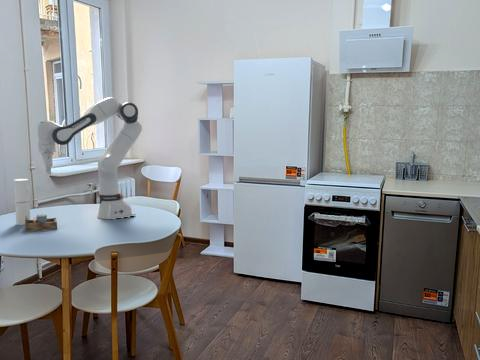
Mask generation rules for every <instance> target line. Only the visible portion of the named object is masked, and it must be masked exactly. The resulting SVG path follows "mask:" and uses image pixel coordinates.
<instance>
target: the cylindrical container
mask: <svg viewBox="0 0 480 360" xmlns="http://www.w3.org/2000/svg"><path fill="white" fill-rule="evenodd" d="M13 188H14V189H13V190H14V206H15V207H14V208H15V224H16V225H17V226H25V216H28V220H31V206H30V186H29V179H28V178H16V179H13Z"/></svg>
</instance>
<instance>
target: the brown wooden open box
mask: <svg viewBox="0 0 480 360" xmlns="http://www.w3.org/2000/svg"><path fill="white" fill-rule="evenodd" d="M24 226H25V232H26V233H31V232H41V231H43V232H44V231H52V230H58V221H57V217H47V222H44V223H37V218H36V223H34V222H33V219H30V220H28V216H25V225H24Z"/></svg>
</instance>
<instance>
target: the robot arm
mask: <svg viewBox="0 0 480 360" xmlns="http://www.w3.org/2000/svg"><path fill="white" fill-rule="evenodd" d="M114 116H117V117H118V118H119V119H120V120H122V121H124V123H123V126H122V128H120V130H119V131H118V132H117V134H116V135H115V137H114V138H113V140H112V141H111V143H110V144H109V146H108V147H107V149H106V151H105V152H103V153H101V154H100V155H99V156H98V159H97V171H98V173H97V174H98V182H99V184H98V186H99V187H98V189H99V194H98V204H99V206H98V213H97V218H98V219H104V220H110V219H113V220H117V219H116V218H121V219H125V218H124V217H128V218H130V217H129V216H134V215H133V214H135V215H136V212H134V211H133V210H132V207H131V205H130V204H129V203H128V202H127V201H125V200H124V197H125V196H124V195H123V194H121V193H120V192H119V177H118V168H119V167H120V165H121V164H122V162H123V160H124V159H125V157H126V156H127V154H128V152H129V150H131V148H132V146H133V145H134V144H135V142H136V141H137V140H138V138H139V137H140V134H141V133H142V131H143V125H142V124H141V122H139V121H138V117H139V110H138V106H137V105H136V104H135V103H133V102H131V101H130V102H129V101H127V102H124V103H120V102H119V101H118V99H116V98H115V97H113V96H110V97H106V98H103V99H102V100H99V101H98V102H96V103H95V104H93V105H92V106H90V107H89V108H88V109H87V110H86V111H85V112H84V113H83V115H82V116H80V118H78V119H76V120H75V121H73V122H71V123H70V124H67V125H60V124H58V123H56V122H54V121H53V120H45V121H44V120H43V121H41V122H39V123H38V124H37V138H38V144H37V146H38V153H40V154H41V156H42V161H43V162H42V163H43V164H44V166H45V172H46V173H47V175H51V174H52V172H51V171H52V170H51V169H52V167H53V156H54V153H56V149H57V148H56V144H57V145H59V146H65V145H68V144H69V143H70V142H71V141H72V140H73V138H74V137H75V135H77V134H79V133H80V132H82V131H83V130H85V129H87V128H89V127H92V126H95V125H99V124H101V123H103V122H105V121H107V120H108V119H110V118H112V117H114ZM134 217H135V216H134Z"/></svg>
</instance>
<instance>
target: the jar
mask: <svg viewBox="0 0 480 360" xmlns="http://www.w3.org/2000/svg"><path fill="white" fill-rule="evenodd" d="M35 217H36V219H37V223H44V222H47V218H48V215H47V214H44V213H43V214H37V215H36V216H35Z"/></svg>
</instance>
